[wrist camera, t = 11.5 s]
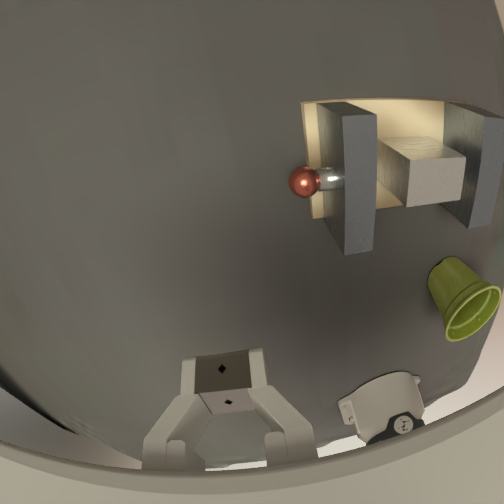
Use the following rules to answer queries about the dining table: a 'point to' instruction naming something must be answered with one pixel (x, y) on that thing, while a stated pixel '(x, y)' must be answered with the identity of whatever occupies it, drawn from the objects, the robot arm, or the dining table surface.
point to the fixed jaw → (475, 160)
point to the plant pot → (462, 298)
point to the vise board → (388, 125)
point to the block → (420, 170)
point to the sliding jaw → (344, 174)
